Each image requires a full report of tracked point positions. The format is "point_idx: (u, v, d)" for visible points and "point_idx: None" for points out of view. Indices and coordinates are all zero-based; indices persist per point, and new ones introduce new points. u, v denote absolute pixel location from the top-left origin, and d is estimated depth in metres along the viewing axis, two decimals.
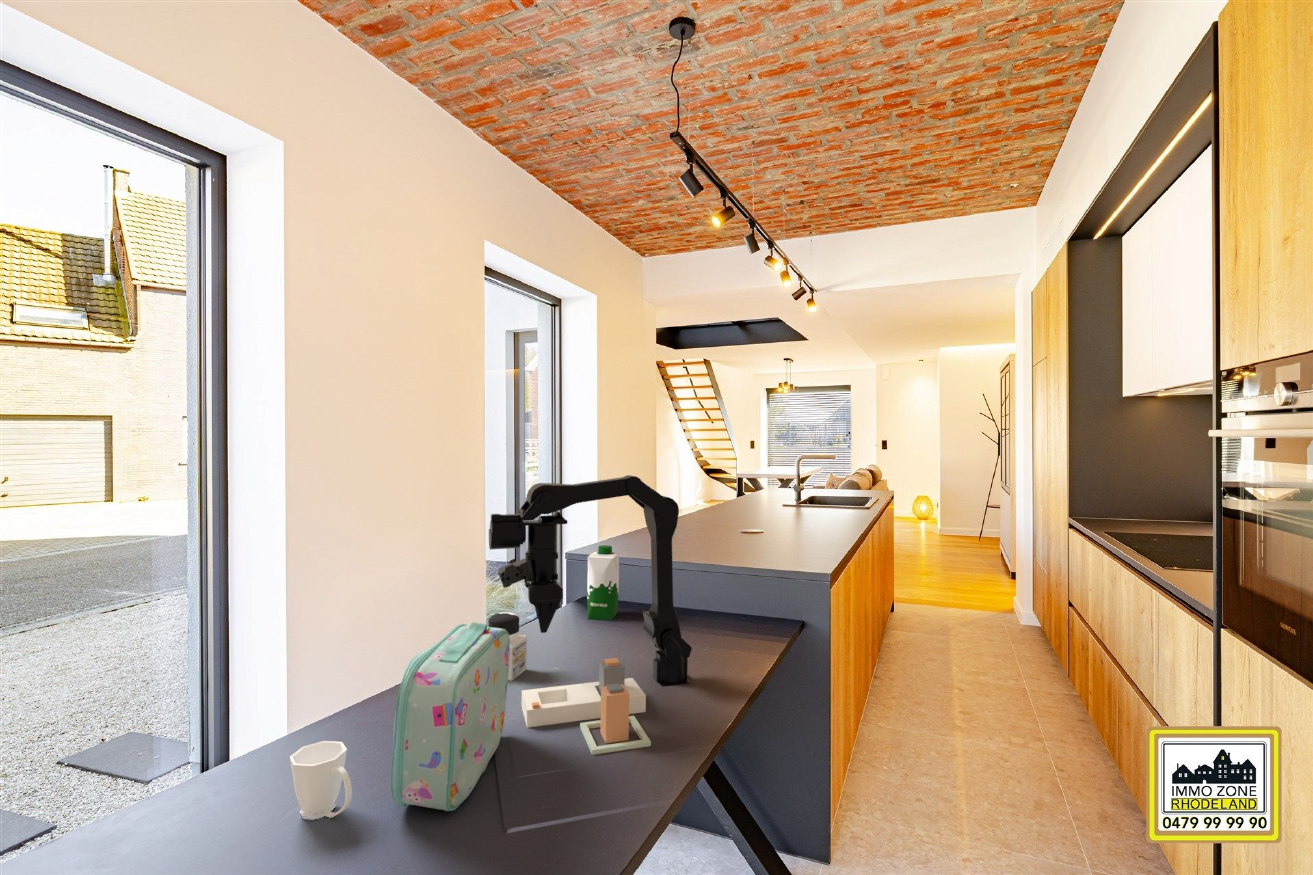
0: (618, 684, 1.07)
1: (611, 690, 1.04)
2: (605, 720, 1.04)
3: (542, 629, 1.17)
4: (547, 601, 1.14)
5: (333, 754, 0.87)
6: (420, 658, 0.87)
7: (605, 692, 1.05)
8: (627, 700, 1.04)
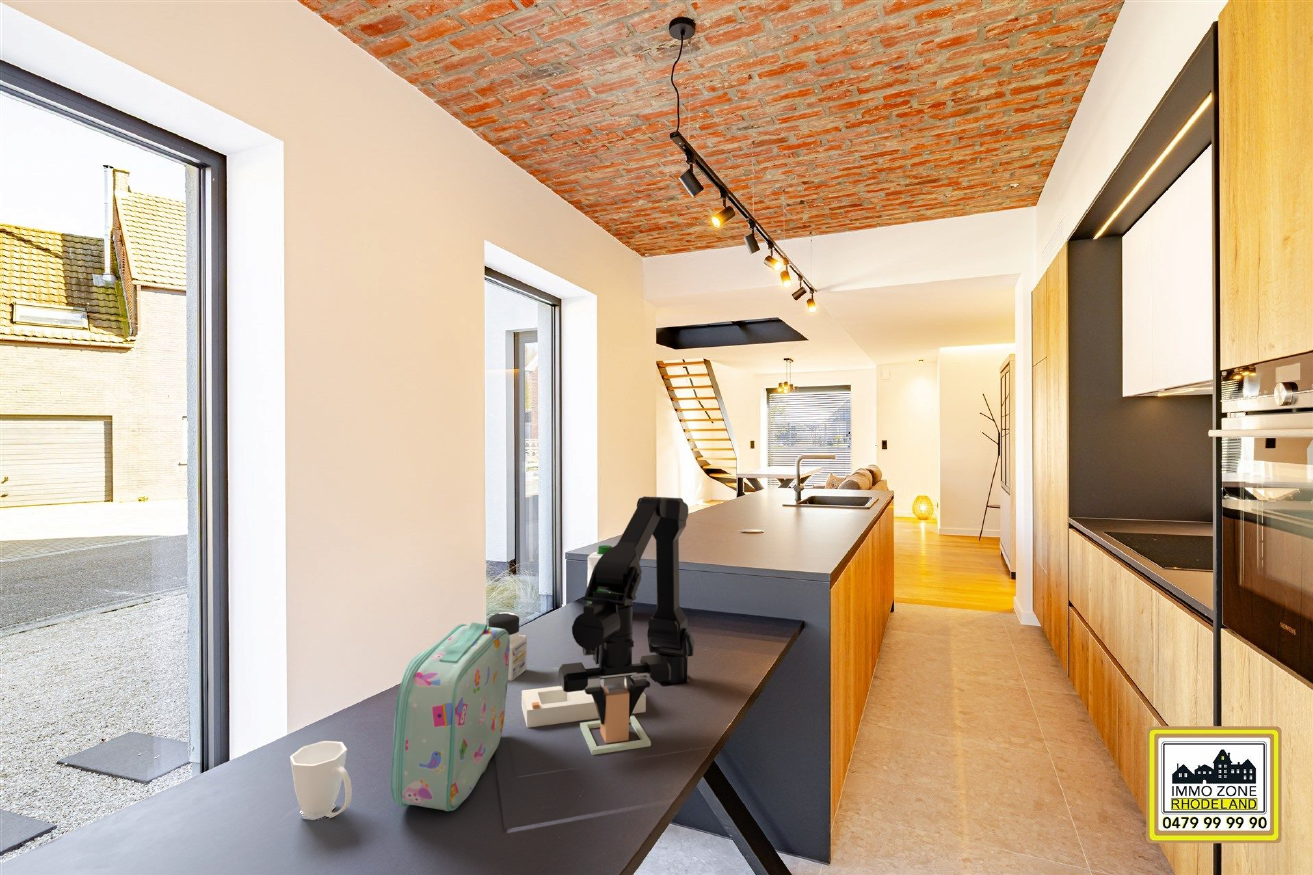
0: (618, 684, 1.07)
1: (611, 690, 1.04)
2: (605, 720, 1.04)
3: None
4: None
5: (333, 755, 0.87)
6: (420, 658, 0.87)
7: (605, 692, 1.05)
8: (627, 700, 1.04)
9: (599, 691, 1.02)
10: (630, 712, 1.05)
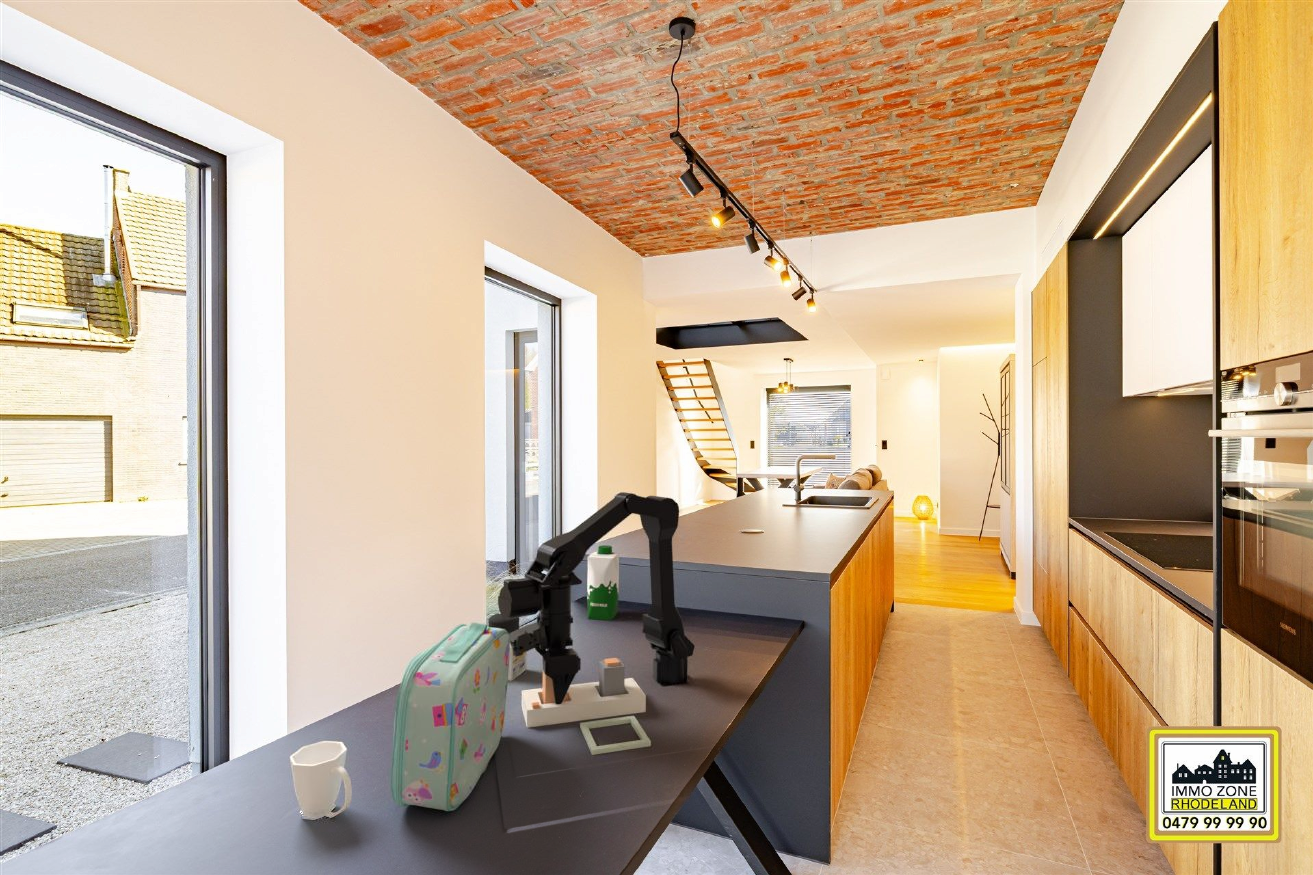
0: None
1: None
2: None
3: (557, 701, 1.10)
4: (564, 672, 1.07)
5: (333, 754, 0.87)
6: (420, 658, 0.87)
7: None
8: None
9: None
10: None
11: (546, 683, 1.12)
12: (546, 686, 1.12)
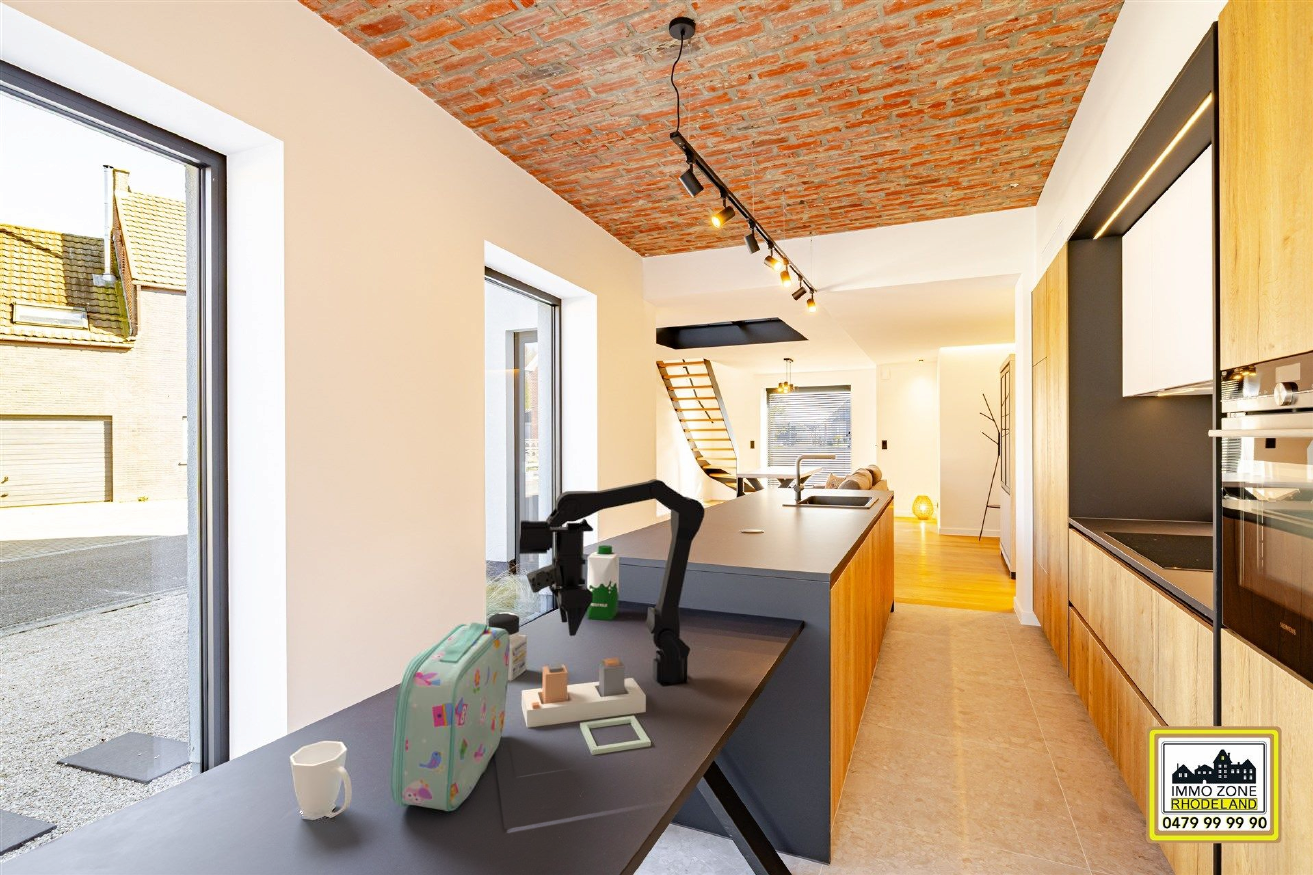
0: (550, 665, 1.15)
1: (561, 668, 1.14)
2: (564, 696, 1.13)
3: (571, 633, 1.21)
4: (578, 605, 1.19)
5: (333, 754, 0.87)
6: (420, 658, 0.87)
7: (559, 672, 1.13)
8: None
9: None
10: None
11: (546, 683, 1.12)
12: (546, 686, 1.12)
